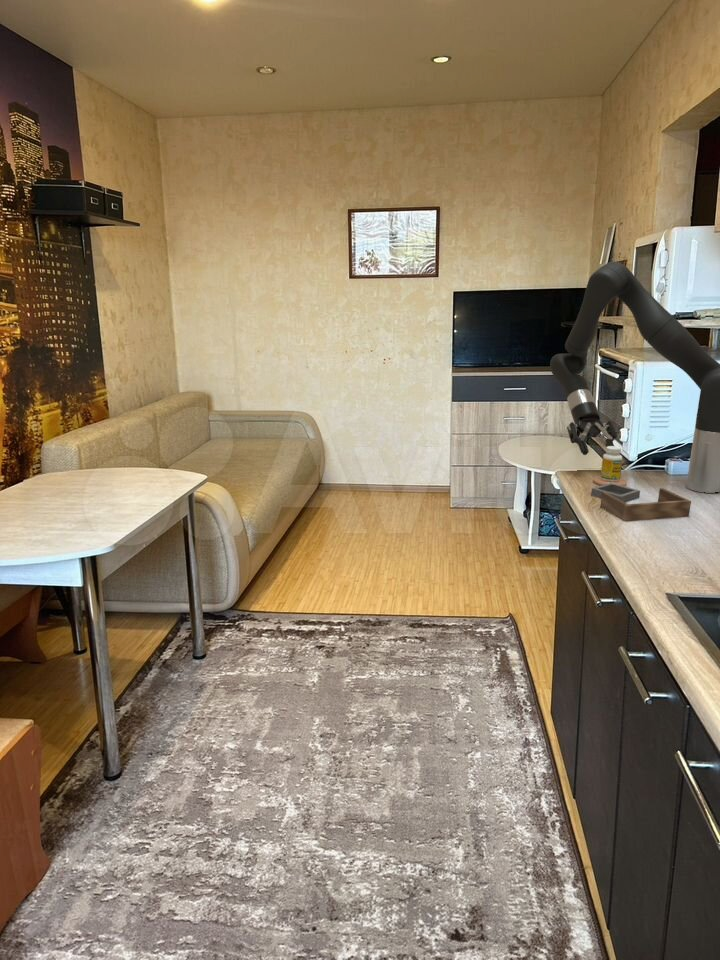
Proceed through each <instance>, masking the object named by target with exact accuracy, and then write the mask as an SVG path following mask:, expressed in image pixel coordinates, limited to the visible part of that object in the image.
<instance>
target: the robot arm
mask: <svg viewBox="0 0 720 960" xmlns="http://www.w3.org/2000/svg"><path fill="white" fill-rule="evenodd" d="M587 281H588V282H587V283H586V288H585V291H584V296H583V300H582V303H581V306H580V310H579V312H578V314H577V317H576V320H575V321H574V324H573V326H572V329H571V330H570V333H569V335H568V337H567V339H566V341H565V344H564V349H565V350H566V352H567V353H557V354H554V356H552V357H551V360H550V363H549V364H550V365H549V367H550V368H549V369H550V372H551V374H552V375H553V377H554V378H555V380H556V381H557V383H558V384H559V385H560V386H561V388H562V389H563V391H564V394H565V397H566V399H567V404H568V408H569V411H570V413H571V417H572V419H573V421H572V422H570V423H569V424H568V425H567V427H566V430H567V433H568V436H569V439H570V440H569V441H570V442H571V444H574V443H575V444H577V445H578V447H579V450H580V453H581V454H582V455H583V456H587V455H588V454H589V451H590V449H589V448H588V445H587V442H586V441H585V439H586V438H587V439H588V438H596V439H598V440H600V441H603V442H604V443H605V444H604V445H605V448H606V447H608V446H615V445H614V441H615V439H617V438H618V434H617V433H616V430H615V428H614V425H613V424H612V421H610V420H608V421H606V422H602V421H601V419H600V418H601V417H600V413H599V410H598V408H597V405H596V402H595V399H594V397H593V395H592V393H591V391H590V388H589V386H588V383H587V380H586V378H584V376H581V375H580V374H582V373H583V372H584V370H585V367H586V362H587V361H586V360H587V355H588V350H589V348H590V346H591V345H592V342H593V340H594V338H595V335H596V333H597V330H598V324H599V320H600V317H601V315H602V313H603V312H604V311H605V309H606V307H607V306H608V305H609V303H611V301H612V300H614V299H615V298H618V299H619V300H620V301H621V302H622V303H623V304H624V305H626V308H628V310H629V311H630V312H631V314H632V316H633V319H634V320H635V321H634V322H635V323H636V326H637V330H638V331H639V333H640V335H641V336H642V338H643V340H644V341H645V342H647V344H649V345H650V346H651V347H652V349H654V350H655V351H656V352H657V353H658V354H660V355H661V357H663V358H665V359H666V360H667V361H668V362H670V363H672V364H674V365H675V366H676V367H678V368H679V369H681V370H682V371H683V372H684V373H685V374H687V376H688V377H689V378H690V379H691V380H692V381H693V383H694V384H695V385H696V386H697V387H698V388H699V390H700V392H699V398H698V405H697V412H696V418H695V426H694V431H693V438H692V443H691V444H692V445H691V453H690V457H689V464H688V465H689V466H688V472H687V477H686V483H685V484H686V485H685V487H686V488H687V489H689V490H692V491H695V492H698V493H704V492H705V493H704V494H716V493H715V492H719V493H720V363H719V362H718V361H717V360H715V358H713V357H712V356H711V355H710V354H709V353H707V352H706V351H705V350H704V348H703V347H702V346H701V345H700V343H699V342H698V341H697V340H696V338H695V337H694V336H693V335H692V334H691V333H690V332H689V331H688V329H687V328H686V327H685V326H684V325H683V324H682V323H681V322H680V321H678V320H677V319H676V318H675V317H674V315H673V314H671V313H670V312H669V311H668V310H667V309H666V308H664V306H662V304H661V303H660V302H659V301H658V300H657V299H656V298H655V297H654V296H652V294H651V293H650V292H649V291H648V290H647V289H646V288H645V287H644V286H643V285H642V283H641V282H640V281H639V280H638V278H637V277H636V276H635V275H634V273H633V272H632V271H631V270H630V269H629V268H628V267H627V266H626V265H625V264H624V263H621V262H619V261H615V260H613V261H609V262H607V263H605V264H604V265H602V266H601V267H599V268H598V269H597V270H596V271H594V272H593V273H592V274H591V276H590V277H589V279H588V280H587ZM577 431H578V432H579V436H578V432H577ZM601 433H602V434H601Z"/></svg>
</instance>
